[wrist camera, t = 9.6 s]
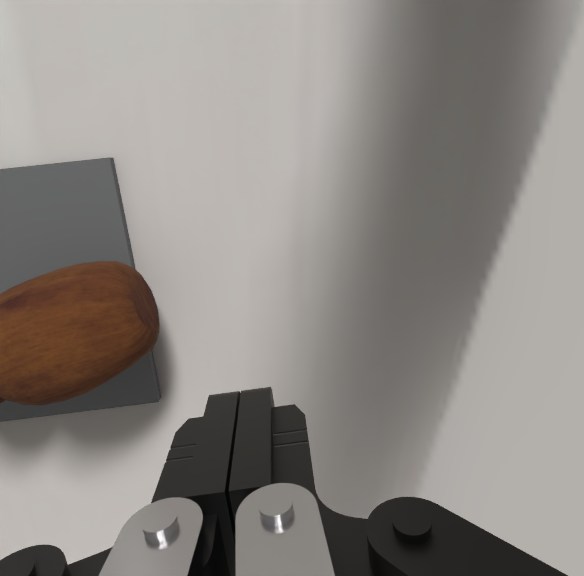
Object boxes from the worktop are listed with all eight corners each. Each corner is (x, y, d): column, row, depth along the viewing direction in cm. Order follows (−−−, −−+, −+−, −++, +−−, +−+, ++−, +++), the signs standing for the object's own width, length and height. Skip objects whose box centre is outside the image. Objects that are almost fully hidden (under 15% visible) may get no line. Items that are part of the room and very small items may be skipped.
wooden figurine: (92, 261, 18) (-252, 388, 18) (153, 385, 20) (-166, 499, 20) (137, 235, 25) (-119, 329, 25) (180, 329, 26) (-61, 416, 27)
